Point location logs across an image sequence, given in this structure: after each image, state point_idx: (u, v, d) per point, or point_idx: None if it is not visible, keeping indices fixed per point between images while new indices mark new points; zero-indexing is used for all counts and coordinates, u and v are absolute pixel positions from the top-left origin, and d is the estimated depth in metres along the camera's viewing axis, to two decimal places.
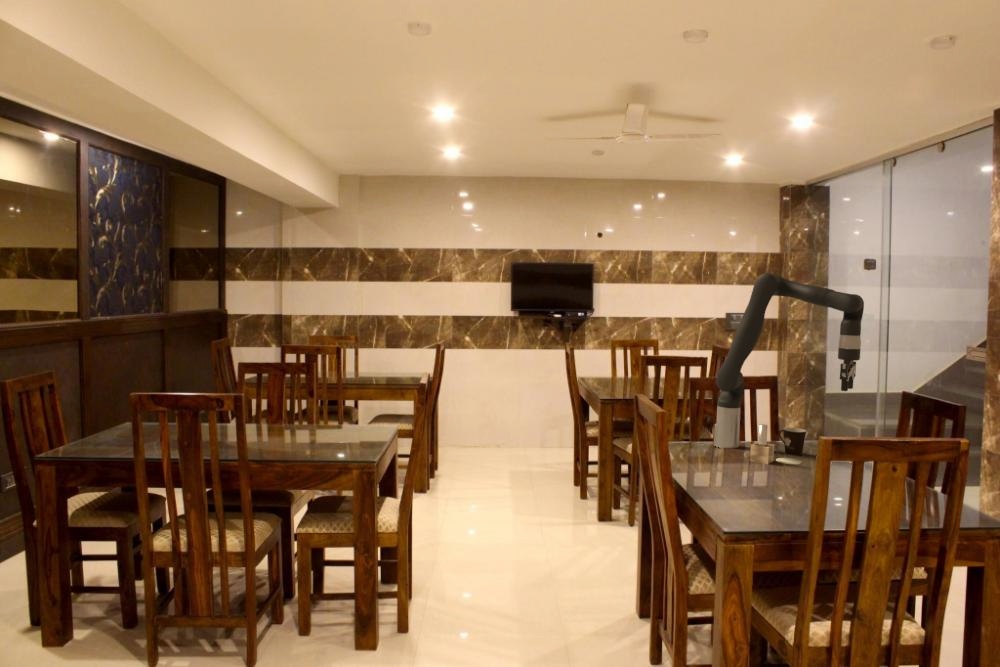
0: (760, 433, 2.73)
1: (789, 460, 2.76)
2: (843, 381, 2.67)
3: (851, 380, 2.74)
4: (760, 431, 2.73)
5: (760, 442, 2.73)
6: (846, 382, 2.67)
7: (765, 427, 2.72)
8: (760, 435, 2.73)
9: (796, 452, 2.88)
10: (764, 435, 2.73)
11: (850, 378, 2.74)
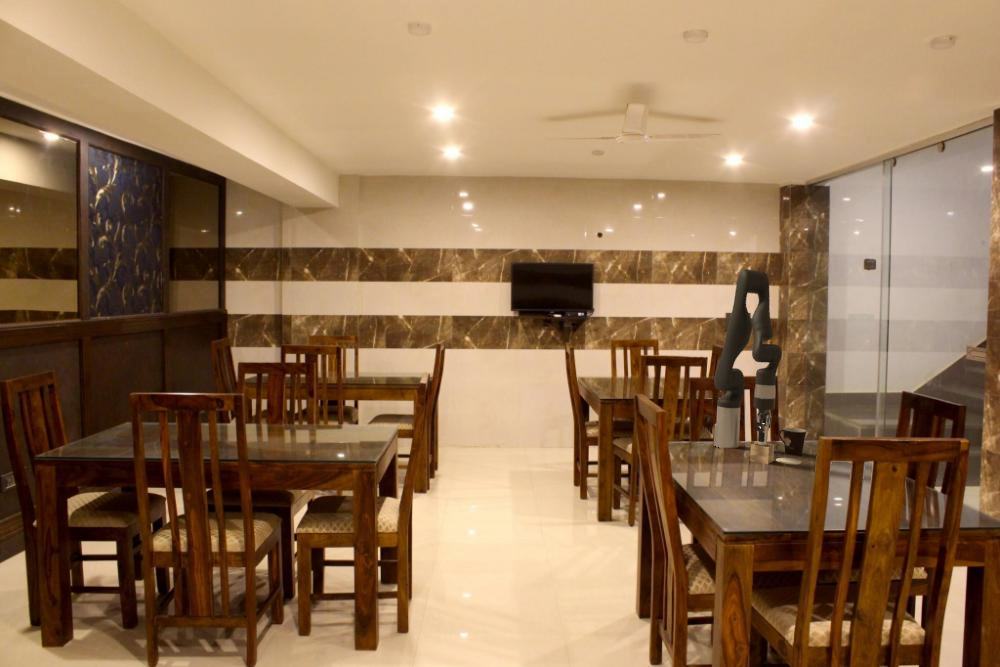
0: None
1: (789, 460, 2.76)
2: (759, 432, 2.72)
3: None
4: None
5: (760, 442, 2.73)
6: (762, 433, 2.72)
7: (765, 427, 2.72)
8: None
9: (796, 452, 2.88)
10: None
11: None
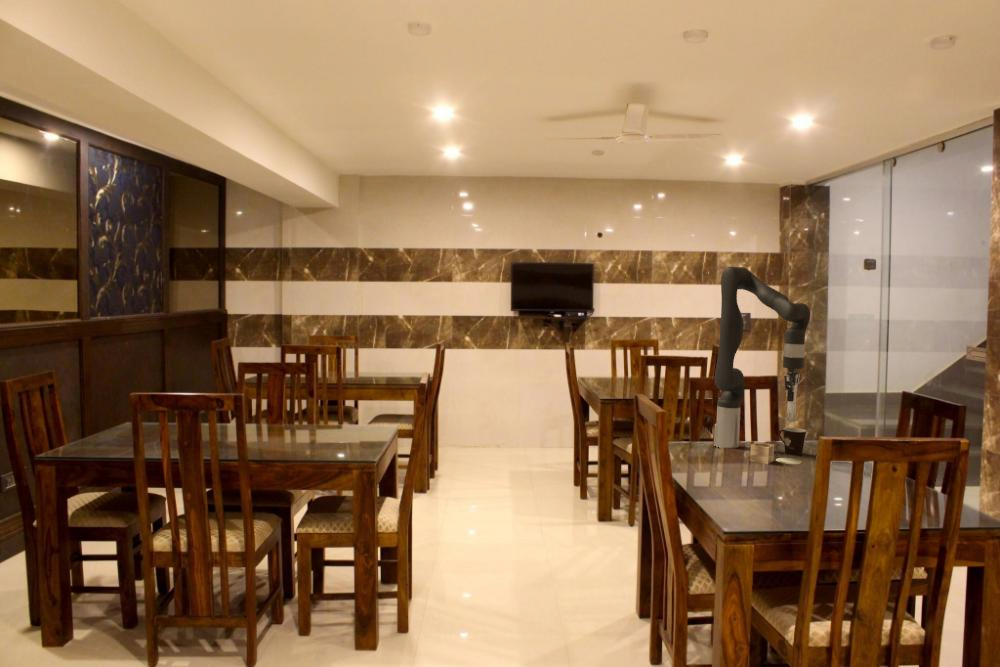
0: None
1: (789, 460, 2.76)
2: (789, 391, 2.71)
3: None
4: None
5: (789, 402, 2.73)
6: (792, 392, 2.71)
7: None
8: None
9: (796, 452, 2.88)
10: None
11: None
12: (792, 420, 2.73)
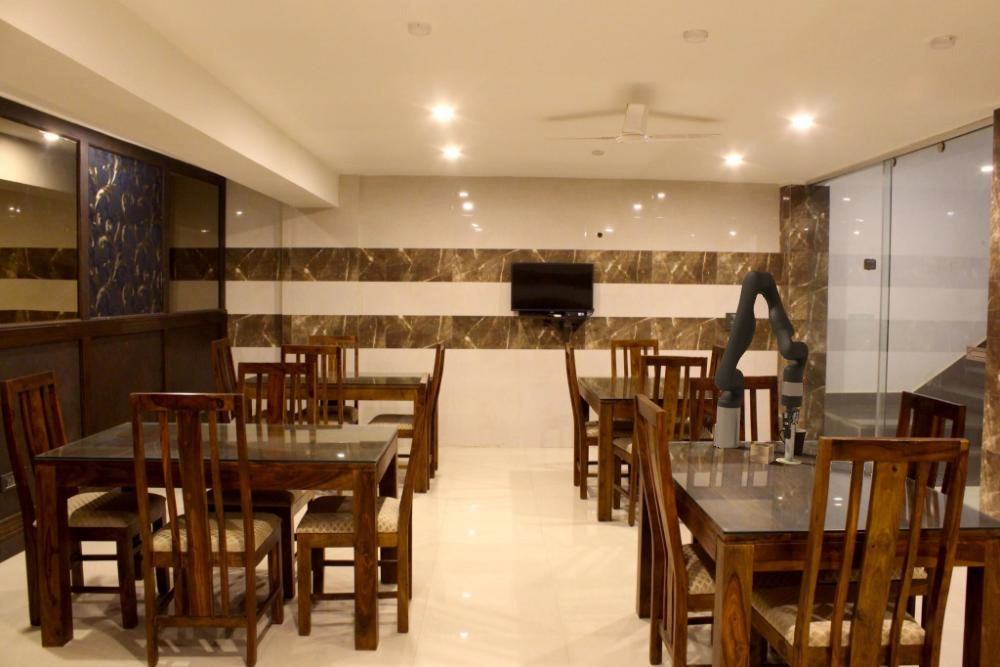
0: None
1: None
2: (786, 429, 2.72)
3: None
4: None
5: (787, 442, 2.74)
6: (789, 430, 2.71)
7: (793, 427, 2.73)
8: None
9: (796, 452, 2.88)
10: (791, 435, 2.73)
11: None
12: (790, 460, 2.74)
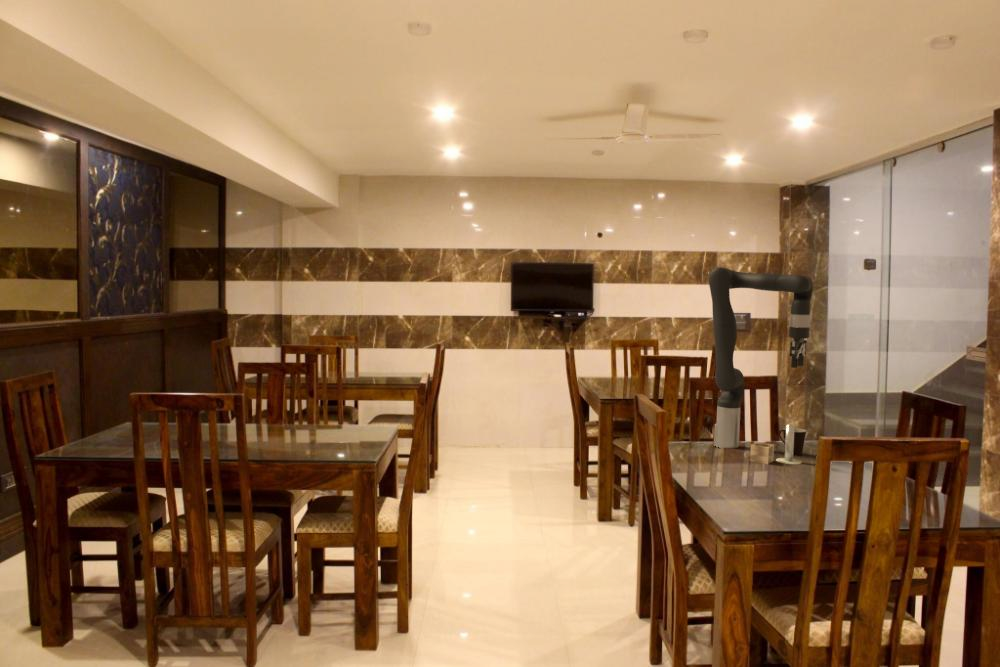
0: (787, 433, 2.74)
1: None
2: (793, 358, 2.80)
3: (802, 358, 2.87)
4: (787, 431, 2.74)
5: (787, 442, 2.74)
6: (796, 359, 2.80)
7: (792, 427, 2.73)
8: (787, 435, 2.74)
9: (796, 452, 2.88)
10: (791, 435, 2.73)
11: (801, 356, 2.87)
12: (790, 460, 2.74)
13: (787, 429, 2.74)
